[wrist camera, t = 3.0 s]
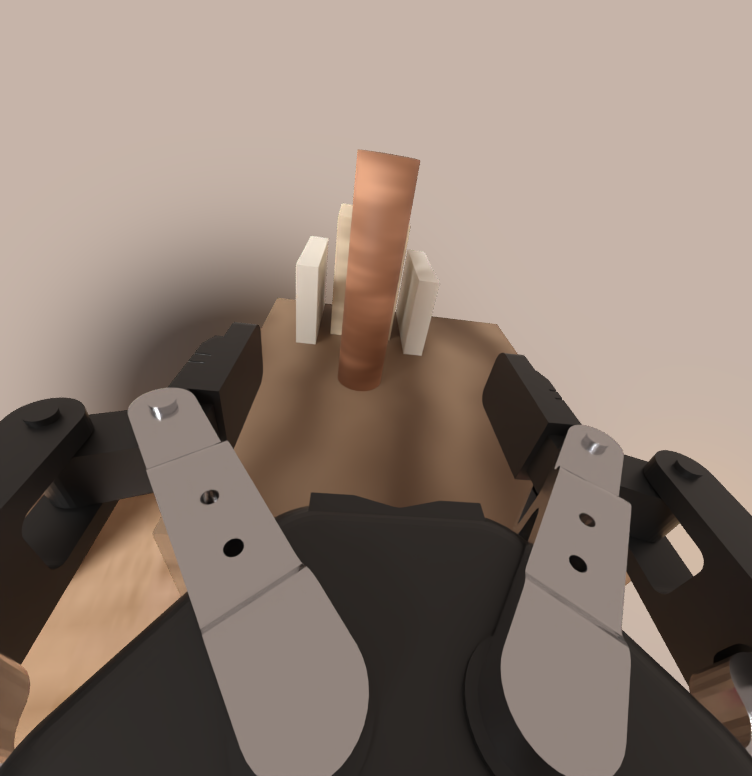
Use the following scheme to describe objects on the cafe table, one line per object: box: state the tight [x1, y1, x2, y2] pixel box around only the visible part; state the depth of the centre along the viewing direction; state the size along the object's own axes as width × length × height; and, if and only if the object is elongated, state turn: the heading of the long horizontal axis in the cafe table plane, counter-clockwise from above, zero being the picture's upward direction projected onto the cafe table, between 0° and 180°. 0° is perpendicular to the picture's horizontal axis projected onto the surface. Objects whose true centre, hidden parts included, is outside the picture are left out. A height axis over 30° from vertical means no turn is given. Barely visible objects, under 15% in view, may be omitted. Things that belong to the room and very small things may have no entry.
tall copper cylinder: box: [330, 150, 420, 391], centre depth 24 cm, size 5×12×13 cm, turn 1°
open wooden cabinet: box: [152, 298, 631, 596], centre depth 31 cm, size 22×24×24 cm
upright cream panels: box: [296, 236, 440, 356], centre depth 28 cm, size 10×8×6 cm
